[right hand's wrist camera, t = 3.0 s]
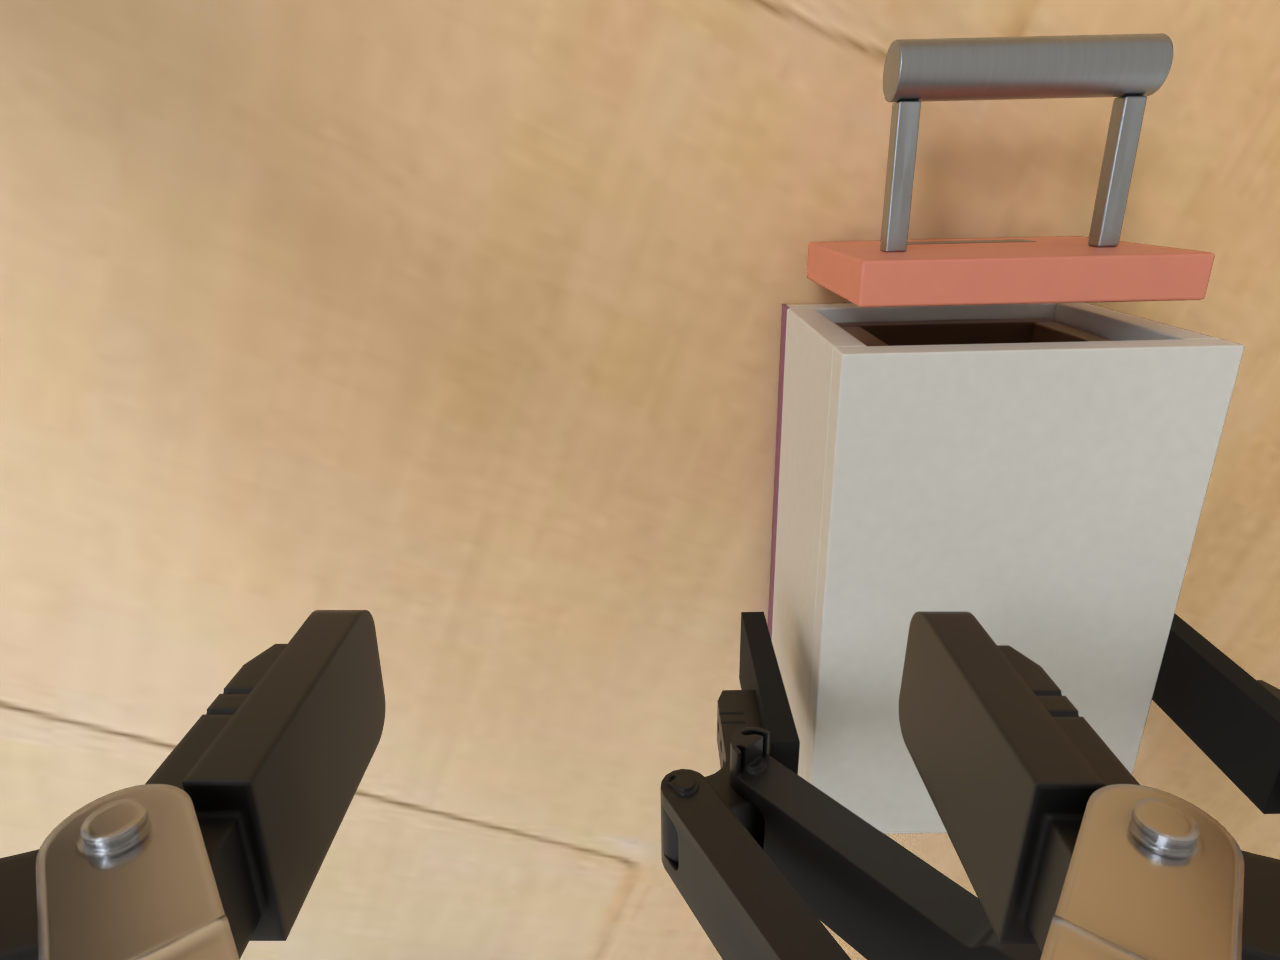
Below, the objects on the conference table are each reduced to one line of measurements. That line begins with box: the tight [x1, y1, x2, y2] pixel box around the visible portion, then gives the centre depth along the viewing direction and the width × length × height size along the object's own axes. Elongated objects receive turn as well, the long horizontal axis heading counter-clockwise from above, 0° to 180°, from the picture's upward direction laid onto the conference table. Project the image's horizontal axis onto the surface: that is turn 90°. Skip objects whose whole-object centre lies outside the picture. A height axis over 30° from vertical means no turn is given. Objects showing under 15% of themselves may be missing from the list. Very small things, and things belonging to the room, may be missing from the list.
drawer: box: [807, 34, 1214, 346], centre depth 25 cm, size 20×9×7 cm, turn 1°
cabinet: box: [768, 302, 1244, 834], centre depth 27 cm, size 16×10×9 cm, turn 1°
